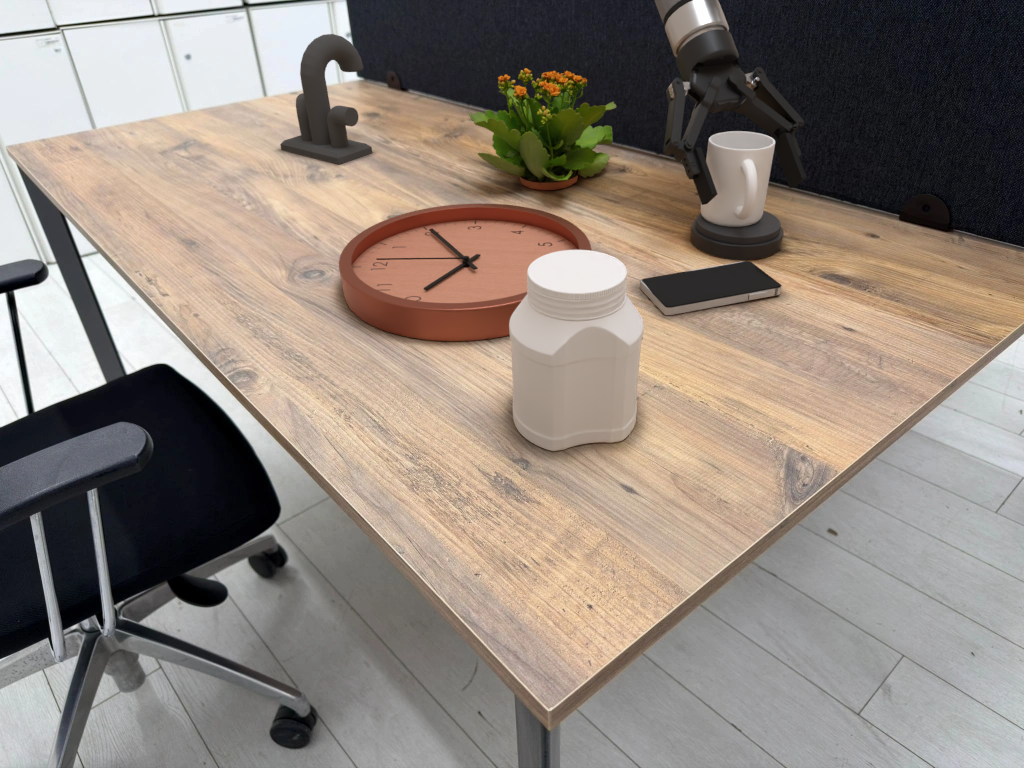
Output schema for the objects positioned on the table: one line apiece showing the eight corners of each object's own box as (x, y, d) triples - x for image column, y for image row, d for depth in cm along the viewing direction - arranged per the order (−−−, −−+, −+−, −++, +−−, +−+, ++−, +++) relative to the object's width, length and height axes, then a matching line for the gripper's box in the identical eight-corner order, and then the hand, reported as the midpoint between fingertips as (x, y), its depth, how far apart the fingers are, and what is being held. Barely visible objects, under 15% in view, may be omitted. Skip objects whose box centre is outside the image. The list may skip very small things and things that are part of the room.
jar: (617, 379, 72) (625, 239, 64) (649, 437, 65) (664, 288, 56) (504, 394, 71) (498, 253, 62) (524, 456, 63) (519, 305, 55)
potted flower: (624, 208, 110) (630, 87, 100) (469, 212, 111) (461, 92, 101) (609, 157, 131) (614, 53, 121) (479, 161, 132) (473, 57, 122)
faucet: (402, 143, 142) (389, 32, 131) (341, 165, 132) (320, 46, 121) (341, 130, 152) (324, 25, 140) (280, 149, 142) (256, 38, 130)
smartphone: (638, 278, 88) (748, 259, 91) (637, 287, 89) (747, 268, 92) (667, 308, 82) (784, 286, 85) (666, 317, 83) (782, 296, 85)
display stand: (772, 225, 103) (776, 205, 101) (788, 261, 93) (793, 239, 91) (687, 224, 104) (689, 204, 103) (694, 259, 95) (696, 238, 93)
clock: (599, 307, 76) (308, 311, 78) (598, 340, 79) (315, 343, 80) (585, 201, 102) (366, 205, 104) (584, 227, 104) (371, 231, 106)
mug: (777, 239, 92) (792, 158, 86) (711, 240, 92) (722, 160, 86) (753, 204, 102) (765, 130, 96) (694, 206, 102) (703, 131, 96)
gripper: (764, 54, 103) (815, 189, 100) (608, 73, 96) (657, 220, 93) (796, 17, 95) (852, 162, 92) (630, 35, 89) (684, 192, 86)
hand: (754, 191), depth 93 cm, fingers open, 13 cm apart
